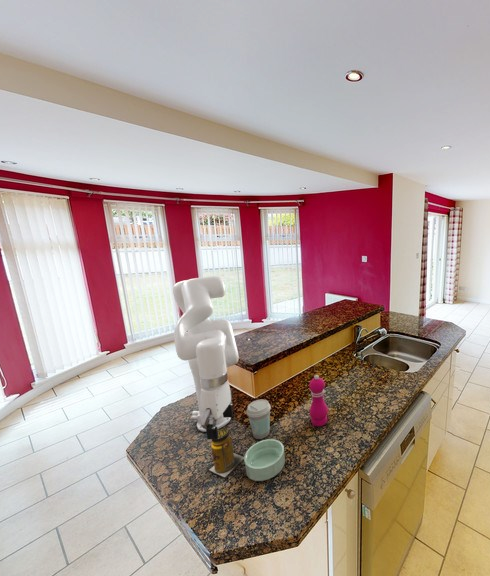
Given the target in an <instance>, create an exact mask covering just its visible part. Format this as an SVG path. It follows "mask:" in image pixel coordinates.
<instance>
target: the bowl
mask: <svg viewBox="0 0 490 576" xmlns="http://www.w3.org/2000/svg"><path fill="white" fill-rule="evenodd" d="M285 455H286V454H285V445H284V444H283V443H282V442H281V441H280V440H277V439H274V438H268V439H262V440H260V441H258V442H255V443H254V444H253V445H251V446H250V447H249V448H248V449H247V450H246V452H245V454H244V456H243V457H244V459H243V462H244V470H245V474H246V476H247V477H248V478H249V479H250V480H252V481H255V482H263V481H267V480H270V479H272V478H274V477H276V476H277V475H278V474H279V473H280V472H281V471H282V470H283V469H284V467H285V463H286V456H285Z"/></svg>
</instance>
